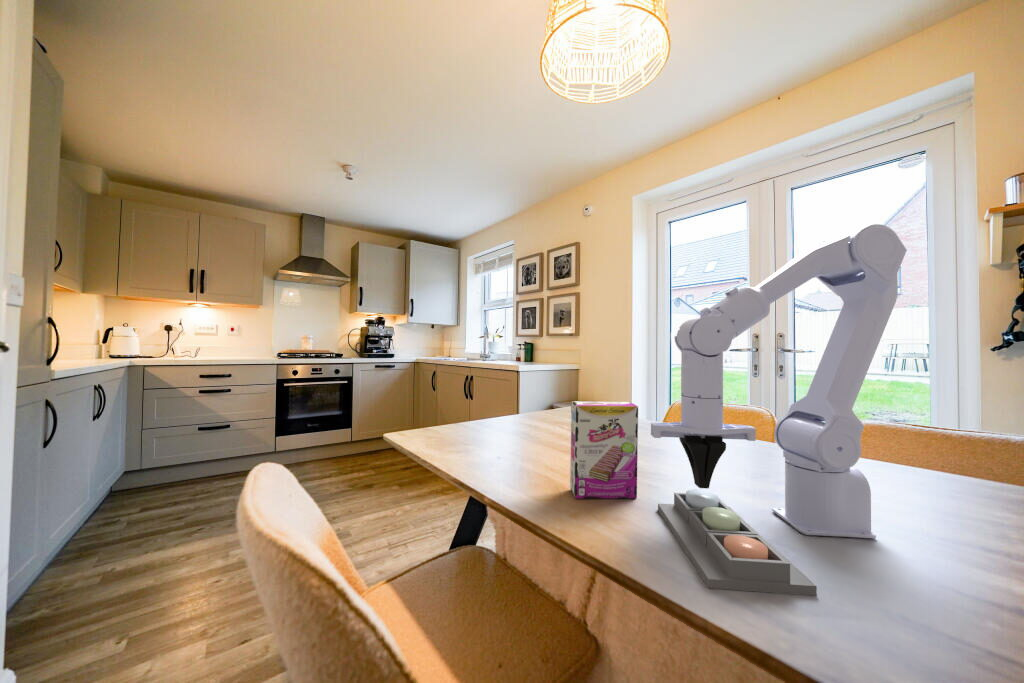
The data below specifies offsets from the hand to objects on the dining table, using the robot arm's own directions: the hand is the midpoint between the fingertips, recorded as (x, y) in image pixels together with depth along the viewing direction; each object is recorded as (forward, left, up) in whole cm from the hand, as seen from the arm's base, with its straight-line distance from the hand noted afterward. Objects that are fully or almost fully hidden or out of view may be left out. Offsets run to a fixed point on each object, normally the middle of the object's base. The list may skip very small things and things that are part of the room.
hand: (701, 485), depth 57 cm
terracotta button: (0, +13, -4) cm, 14 cm away
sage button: (0, +6, -3) cm, 7 cm away
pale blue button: (0, 0, -3) cm, 3 cm away
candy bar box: (+13, -9, -6) cm, 17 cm away
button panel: (0, +6, -5) cm, 8 cm away
